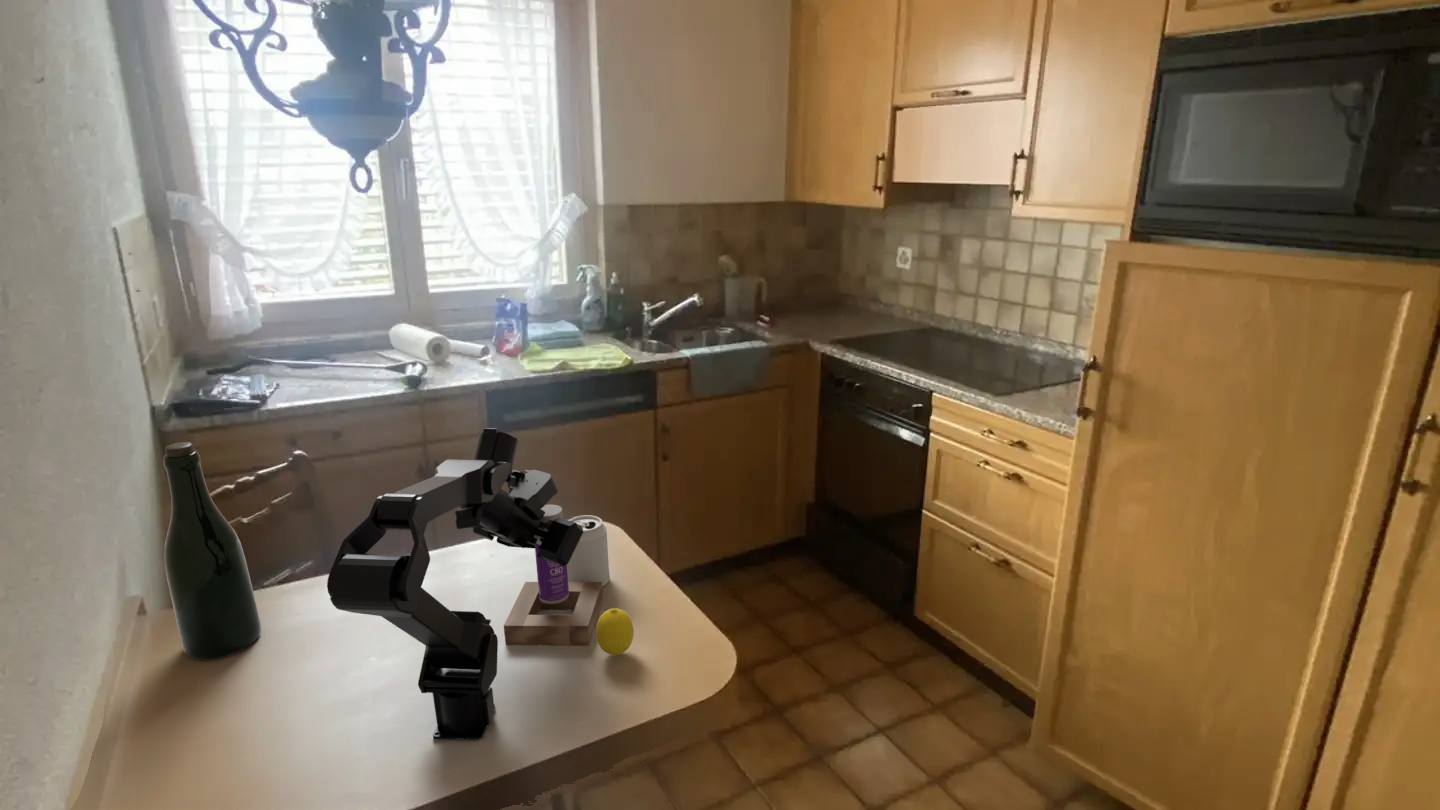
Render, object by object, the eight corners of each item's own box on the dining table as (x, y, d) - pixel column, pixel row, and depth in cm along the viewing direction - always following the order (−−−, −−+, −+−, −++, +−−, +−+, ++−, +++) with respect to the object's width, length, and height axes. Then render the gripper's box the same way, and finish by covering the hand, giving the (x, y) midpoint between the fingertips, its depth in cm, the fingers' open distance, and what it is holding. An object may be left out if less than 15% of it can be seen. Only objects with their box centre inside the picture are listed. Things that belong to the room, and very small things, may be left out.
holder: (505, 645, 122) (503, 625, 121) (527, 599, 134) (525, 581, 133) (589, 645, 122) (588, 625, 120) (603, 600, 134) (601, 581, 133)
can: (606, 594, 136) (602, 531, 132) (563, 594, 136) (558, 531, 132) (612, 572, 143) (609, 512, 139) (571, 572, 143) (566, 512, 139)
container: (554, 607, 123) (547, 519, 119) (532, 598, 126) (525, 512, 121) (575, 593, 127) (569, 508, 123) (553, 585, 129) (547, 501, 125)
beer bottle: (261, 650, 121) (217, 449, 111) (180, 670, 117) (127, 463, 107) (263, 616, 130) (223, 428, 120) (188, 634, 126) (140, 439, 116)
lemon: (628, 668, 116) (625, 621, 114) (592, 663, 117) (589, 617, 115) (639, 646, 121) (637, 600, 119) (605, 642, 122) (602, 597, 120)
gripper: (570, 474, 111) (624, 517, 123) (480, 449, 121) (538, 492, 133) (533, 546, 107) (592, 583, 119) (443, 515, 117) (506, 552, 129)
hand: (556, 549), depth 125 cm, fingers closed on container, 5 cm apart
